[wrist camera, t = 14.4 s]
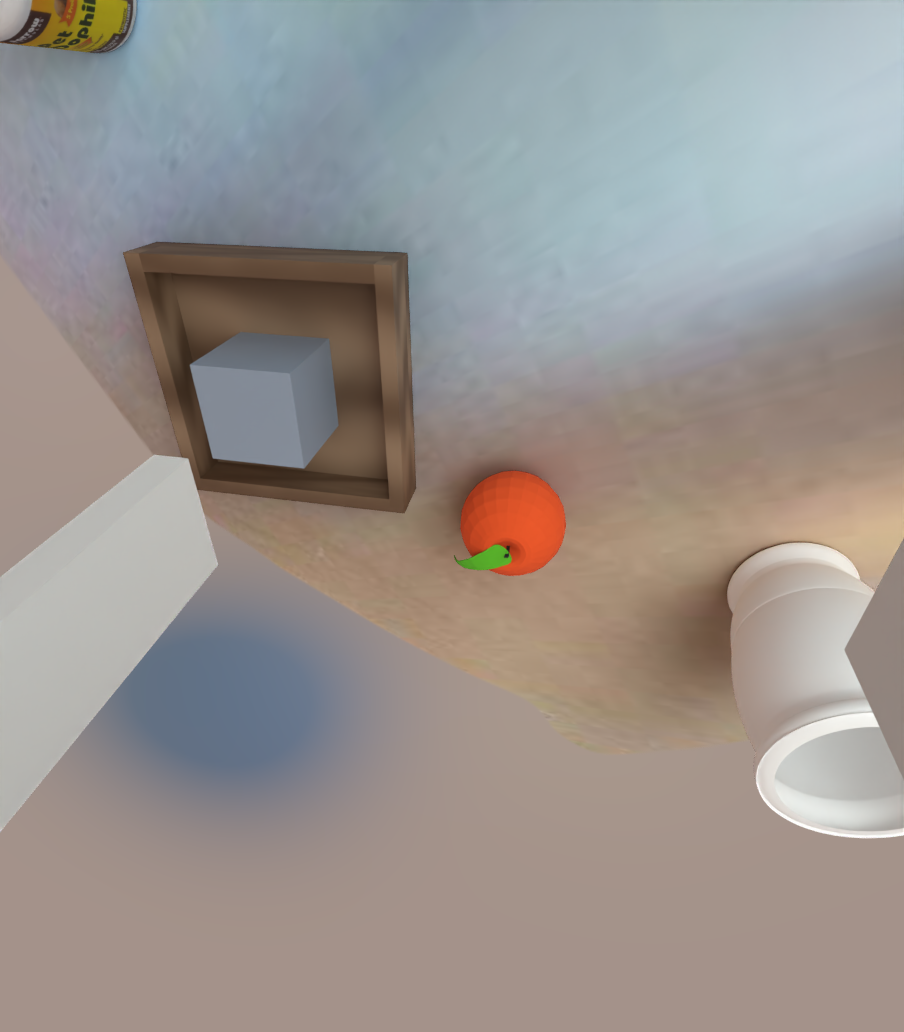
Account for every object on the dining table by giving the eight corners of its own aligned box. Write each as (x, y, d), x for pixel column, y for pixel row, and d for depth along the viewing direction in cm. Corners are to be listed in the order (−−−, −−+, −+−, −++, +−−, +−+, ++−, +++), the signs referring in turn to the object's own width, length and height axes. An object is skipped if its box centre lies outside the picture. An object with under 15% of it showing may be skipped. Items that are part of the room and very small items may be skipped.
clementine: (490, 553, 46) (475, 617, 40) (439, 484, 43) (415, 542, 37) (585, 513, 42) (584, 577, 36) (536, 435, 40) (525, 491, 34)
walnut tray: (156, 241, 37) (122, 252, 34) (407, 252, 35) (391, 265, 32) (214, 466, 46) (190, 489, 44) (415, 488, 44) (404, 513, 41)
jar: (874, 634, 43) (983, 842, 31) (719, 648, 47) (763, 840, 34) (876, 514, 38) (1008, 707, 26) (702, 540, 42) (746, 720, 29)
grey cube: (240, 331, 39) (189, 364, 34) (329, 338, 38) (289, 373, 33) (257, 417, 42) (212, 458, 37) (338, 425, 41) (304, 468, 36)
